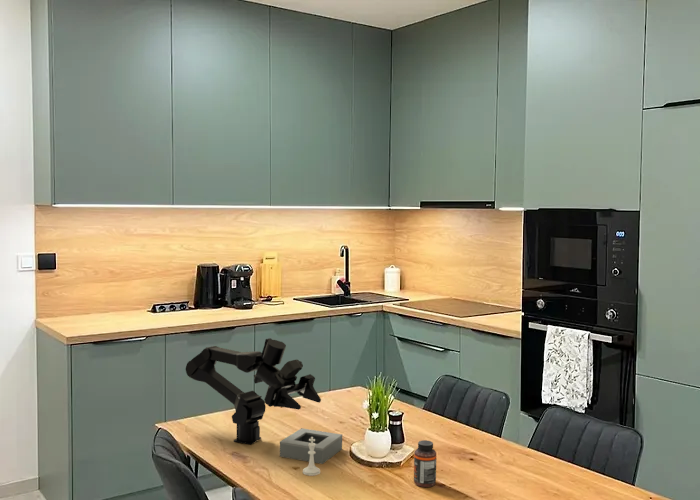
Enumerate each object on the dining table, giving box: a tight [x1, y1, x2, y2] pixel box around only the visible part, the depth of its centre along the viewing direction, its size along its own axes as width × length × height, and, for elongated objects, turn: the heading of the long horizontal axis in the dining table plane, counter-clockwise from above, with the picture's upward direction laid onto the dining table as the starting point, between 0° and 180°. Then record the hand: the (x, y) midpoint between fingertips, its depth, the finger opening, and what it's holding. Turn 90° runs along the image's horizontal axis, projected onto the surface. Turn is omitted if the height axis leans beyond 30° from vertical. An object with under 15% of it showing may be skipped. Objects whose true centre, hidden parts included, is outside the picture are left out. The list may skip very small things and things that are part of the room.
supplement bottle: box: [413, 439, 437, 488], centre depth 187 cm, size 6×6×11 cm
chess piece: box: [302, 437, 321, 477], centre depth 193 cm, size 5×5×10 cm
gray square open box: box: [279, 428, 343, 465], centre depth 209 cm, size 14×14×4 cm
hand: (310, 404), depth 203 cm, fingers open, 9 cm apart
